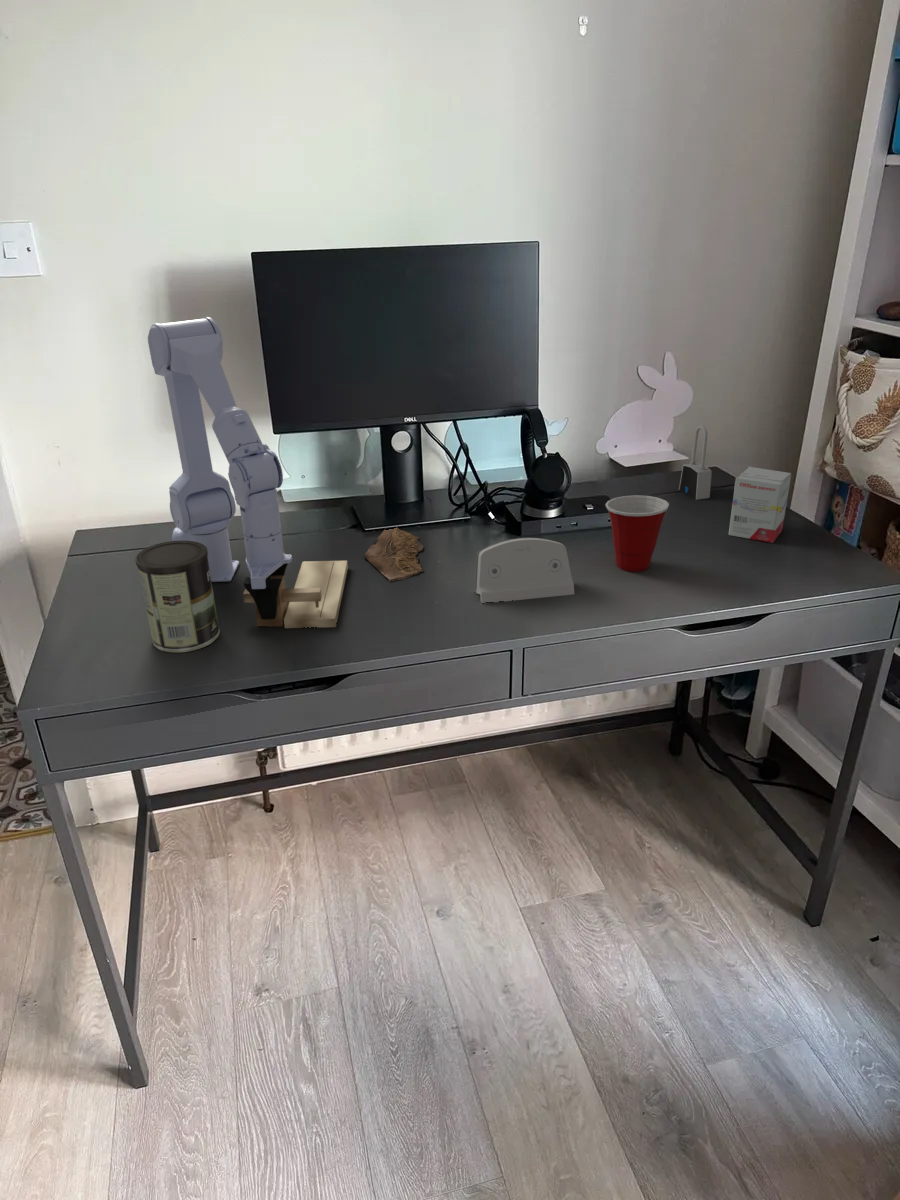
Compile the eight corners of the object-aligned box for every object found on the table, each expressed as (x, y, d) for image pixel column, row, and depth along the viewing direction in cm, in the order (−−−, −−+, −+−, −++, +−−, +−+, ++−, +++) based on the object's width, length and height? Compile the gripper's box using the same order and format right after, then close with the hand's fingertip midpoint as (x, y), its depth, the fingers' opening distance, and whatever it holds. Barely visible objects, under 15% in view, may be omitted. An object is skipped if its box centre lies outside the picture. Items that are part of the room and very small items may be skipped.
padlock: (711, 497, 185) (720, 428, 179) (694, 500, 184) (703, 431, 177) (693, 487, 191) (701, 420, 184) (677, 490, 190) (684, 422, 183)
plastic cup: (630, 548, 162) (636, 487, 157) (675, 567, 154) (682, 504, 149) (588, 562, 156) (592, 500, 151) (632, 583, 148) (638, 518, 143)
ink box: (783, 529, 169) (793, 471, 164) (772, 544, 163) (782, 484, 157) (739, 521, 173) (747, 464, 168) (726, 535, 167) (735, 476, 161)
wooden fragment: (423, 582, 151) (423, 577, 150) (360, 584, 150) (359, 578, 150) (423, 527, 174) (423, 522, 173) (368, 528, 173) (368, 523, 173)
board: (284, 628, 136) (283, 619, 135) (303, 569, 156) (302, 561, 155) (335, 627, 136) (335, 618, 135) (347, 568, 156) (347, 560, 155)
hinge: (479, 604, 142) (475, 543, 141) (473, 600, 147) (469, 542, 146) (576, 594, 145) (573, 534, 144) (568, 591, 150) (564, 533, 148)
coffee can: (207, 614, 140) (194, 534, 134) (229, 640, 133) (217, 557, 126) (143, 632, 135) (126, 549, 129) (162, 660, 128) (145, 574, 121)
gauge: (244, 626, 136) (239, 585, 133) (250, 612, 141) (245, 572, 138) (321, 625, 137) (317, 584, 133) (324, 610, 141) (320, 570, 138)
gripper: (281, 549, 125) (290, 631, 132) (295, 513, 138) (303, 589, 145) (232, 550, 125) (243, 632, 132) (251, 514, 138) (260, 590, 144)
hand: (271, 609), depth 138 cm, fingers closed on gauge, 5 cm apart
